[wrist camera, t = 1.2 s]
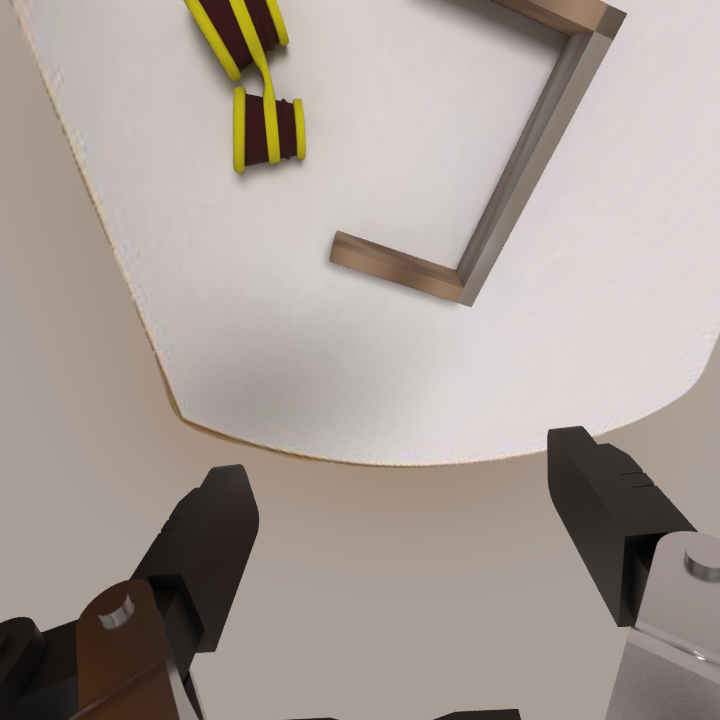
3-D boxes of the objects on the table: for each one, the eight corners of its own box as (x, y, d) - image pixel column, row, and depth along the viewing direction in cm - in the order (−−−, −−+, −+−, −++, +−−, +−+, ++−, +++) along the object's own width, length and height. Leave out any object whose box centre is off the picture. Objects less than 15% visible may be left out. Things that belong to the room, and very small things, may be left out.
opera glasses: (310, 152, 31) (316, 161, 27) (237, 168, 31) (233, 180, 27) (272, -22, 26) (273, -45, 22) (185, -6, 26) (169, -25, 22)
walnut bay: (332, 245, 34) (329, 261, 31) (426, -61, 24) (434, -79, 21) (462, 288, 36) (471, 307, 33) (598, 20, 26) (627, 13, 23)
